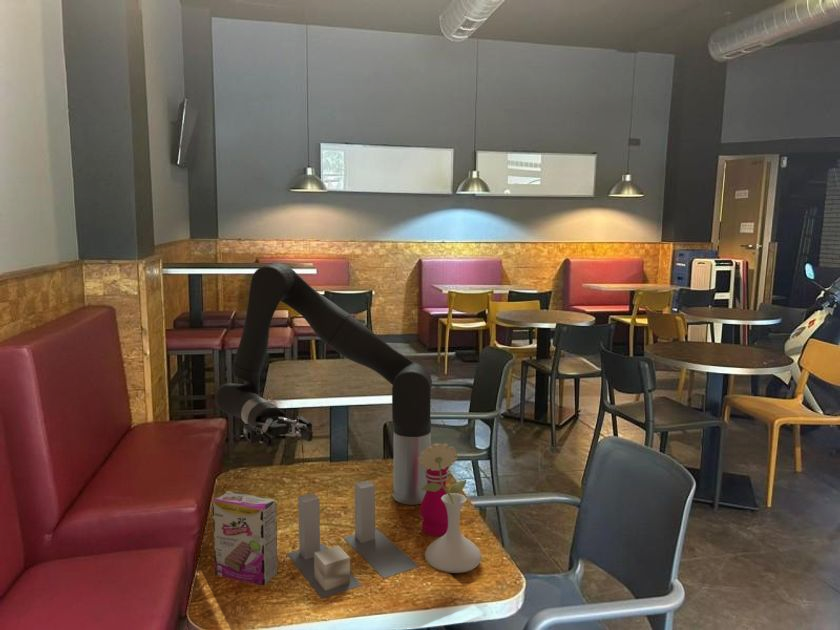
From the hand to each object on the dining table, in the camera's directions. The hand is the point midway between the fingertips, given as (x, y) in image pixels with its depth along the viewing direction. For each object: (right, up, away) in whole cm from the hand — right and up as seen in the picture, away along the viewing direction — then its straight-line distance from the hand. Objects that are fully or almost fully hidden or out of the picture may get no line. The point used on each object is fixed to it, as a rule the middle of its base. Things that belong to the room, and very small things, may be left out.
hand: (291, 440), depth 131 cm
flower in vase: (+33, -24, -6) cm, 41 cm away
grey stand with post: (+8, -24, -11) cm, 28 cm away
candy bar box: (-6, -24, -13) cm, 28 cm away
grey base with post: (+19, -23, -4) cm, 30 cm away
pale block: (+11, -23, -15) cm, 30 cm away
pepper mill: (+31, -22, +8) cm, 38 cm away
